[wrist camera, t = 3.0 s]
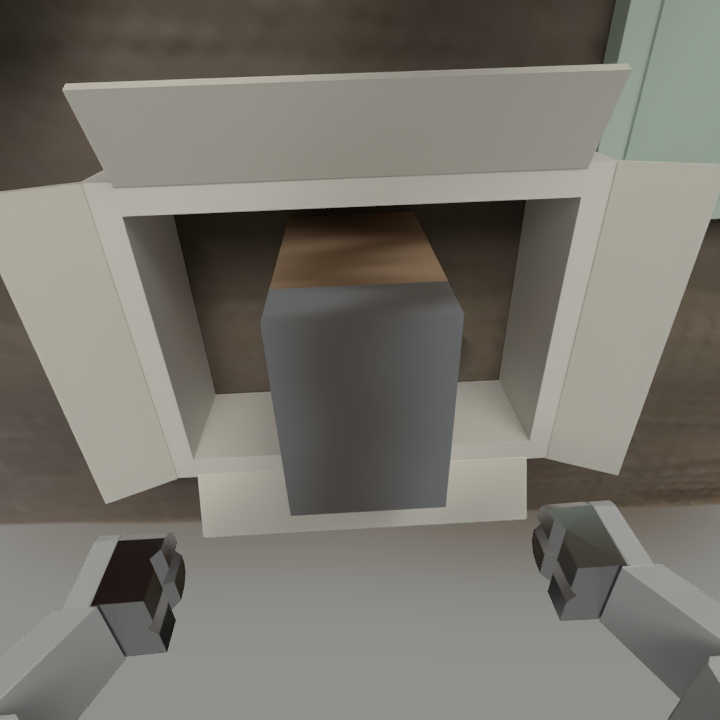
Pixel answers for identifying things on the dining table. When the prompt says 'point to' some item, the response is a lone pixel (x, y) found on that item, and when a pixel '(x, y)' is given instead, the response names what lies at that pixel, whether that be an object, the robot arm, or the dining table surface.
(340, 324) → the grey brown rectangular block
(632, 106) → the plate
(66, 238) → the carton
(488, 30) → the dining table surface
